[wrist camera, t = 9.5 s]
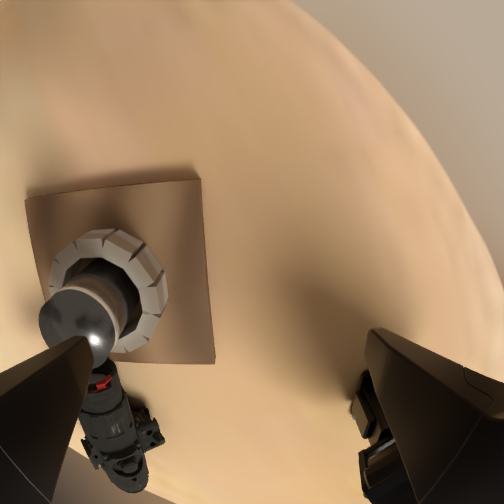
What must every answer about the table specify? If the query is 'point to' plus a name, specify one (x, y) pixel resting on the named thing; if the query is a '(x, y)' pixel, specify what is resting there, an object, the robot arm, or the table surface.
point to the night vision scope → (117, 430)
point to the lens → (91, 308)
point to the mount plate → (165, 237)
